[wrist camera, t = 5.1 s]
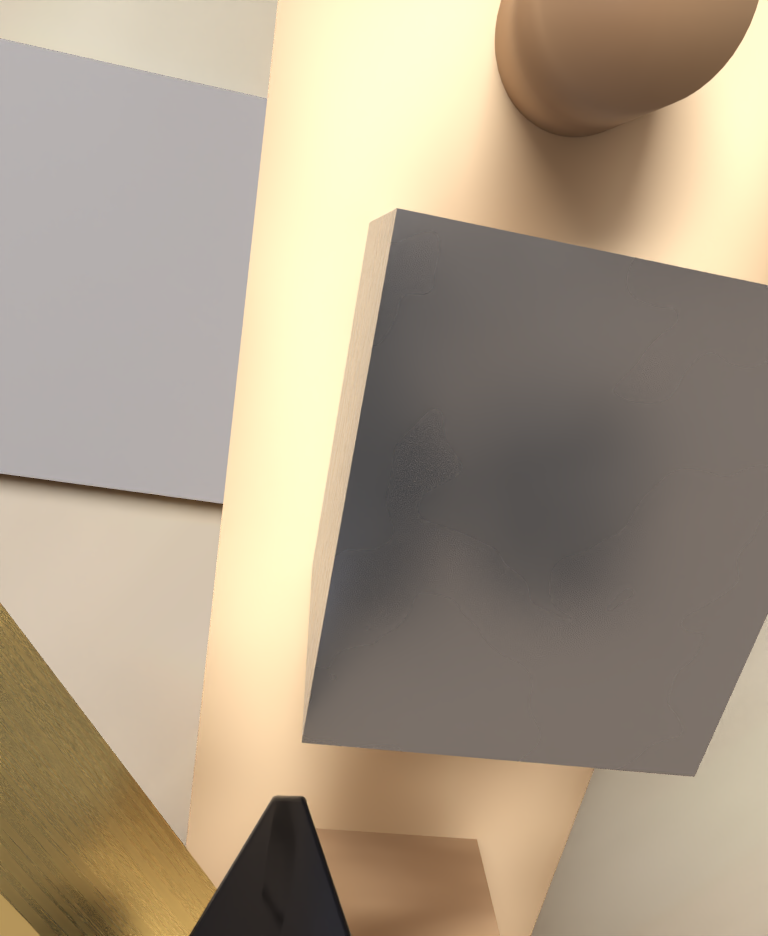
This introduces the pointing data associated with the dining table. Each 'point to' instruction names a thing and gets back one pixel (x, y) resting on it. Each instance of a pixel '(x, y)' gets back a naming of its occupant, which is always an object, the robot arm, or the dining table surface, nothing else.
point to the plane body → (325, 353)
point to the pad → (121, 271)
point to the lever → (79, 821)
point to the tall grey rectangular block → (539, 503)
